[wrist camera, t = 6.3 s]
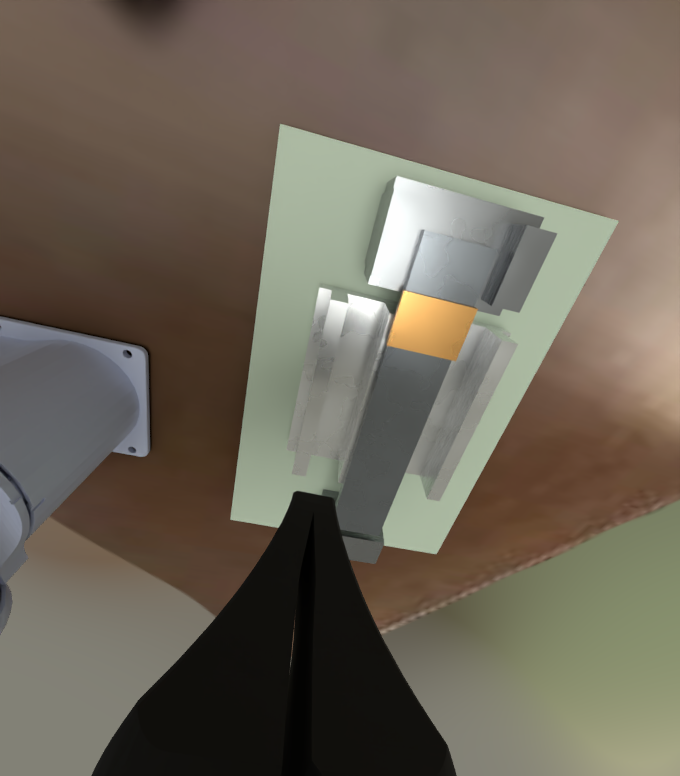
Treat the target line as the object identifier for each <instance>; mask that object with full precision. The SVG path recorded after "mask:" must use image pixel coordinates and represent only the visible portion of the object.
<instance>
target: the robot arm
mask: <svg viewBox="0 0 680 776" xmlns="http://www.w3.org/2000/svg"><path fill="white" fill-rule="evenodd" d="M0 326H1V328H0V635H1V633H2V631H3V629H4V628H5V625H6V623H7V621H8V618H9V615H10V613H11V607H12V595H11V591H10V589H9V587H8V585H7V584H6V582H7V581H8V580H9V579H10V578H11V577H12V575H14V573H15V572H16V571H17V570H18V569H19V568H20V567H21V566H22V565H23V564H24V562H25V561H26V560H27V559H28V556H27V554H26V552H25V550H24V543H25V541H26V540H27V539H28V538H29V537H30V535H32V534H33V533H34V532H35V531H36V530H37V529H38V527H39V526H40V525H41V524H42V523H43V522H44V521H45V520H46V519H47V518H48V517H49V516H50V515H51V514H52V513H53V512H54V511H55V510H56V509H57V508H58V507H59V506H60V505H61V504H62V503H63V502H64V501H65V500H66V499H67V497H68V496H69V495H70V494H71V493H72V492H73V491H74V490H75V489H76V488H77V487H78V486H79V485H80V484H81V483H82V482H83V481H84V480H85V479H86V478H87V477H88V476H89V475H90V474H91V473H92V472H93V471H94V470H95V469H96V467H97V466H98V465H99V464H100V463H101V462H102V461H103V460H104V459H105V458H106V457H107V456H108V455H109V454H110V453H111V452H117V453H123V454H128V455H134V456H139V457H144V456H146V455H147V454H148V453H149V452H150V414H149V366H148V352H147V351H146V350H145V349H144V348H143V347H141V346H137V345H133V344H128V343H123V342H118V341H114V340H109V339H104V338H100V337H95V336H90V335H86V334H81V333H76V332H71V331H67V330H62V329H57V328H53V327H48V326H43V325H39V324H34V323H29V322H25V321H20V320H15V319H10V318H6V317H1V316H0ZM126 350H129V351H130V352H131V353H132V356H131V355H129V354H128V353H127V351H126ZM132 447H134V448H135V449H133V448H132ZM295 611H296V613H295ZM294 620H295V628H294ZM293 630H294V642H293V651H292V660H291V650H292V640H293ZM290 661H291V667H290ZM289 672H290V674H289ZM92 776H456V772H455V768H454V765H453V762H452V758H451V755H450V752H449V748H448V745H447V744H446V742H445V741H444V739H443V738H442V736H441V735H440V733H439V732H438V731H437V729H436V727H435V726H434V724H433V723H432V721H431V720H430V718H429V717H428V715H427V713H426V712H425V710H424V709H423V707H422V706H421V704H420V703H419V701H418V700H417V698H416V696H415V695H414V693H413V691H412V689H411V688H410V686H409V685H408V683H407V681H406V680H405V678H404V676H403V675H402V673H401V671H400V669H399V667H398V665H397V664H396V662H395V660H394V658H393V656H392V654H391V653H390V651H389V649H388V647H387V645H386V644H385V642H384V640H383V638H382V636H381V634H380V632H379V630H378V628H377V626H376V624H375V622H374V620H373V617H372V615H371V613H370V611H369V609H368V606H367V604H366V602H365V600H364V597H363V595H362V592H361V590H360V587H359V585H358V582H357V580H356V577H355V574H354V572H353V569H352V566H351V563H350V560H349V557H348V554H347V551H346V548H345V544H344V541H343V537H342V534H341V530H340V526H339V522H338V518H337V513H336V507H335V500H334V499H333V498H332V497H328V496H322V495H317V494H312V493H307V492H302V491H295V492H293V496H292V499H291V502H290V505H289V508H288V510H287V512H286V514H285V516H284V518H283V521H282V523H281V524H280V526H279V528H278V530H277V532H276V533H275V535H274V537H273V539H272V541H271V542H270V544H269V546H268V547H267V549H266V550H265V552H264V553H263V555H262V556H261V558H260V560H259V561H258V563H257V564H256V566H255V567H254V569H253V570H252V571H251V573H250V574H249V576H248V577H247V579H246V580H245V581H244V583H243V584H242V585H241V587H240V588H239V589H238V591H237V592H236V593H235V595H234V596H233V597H232V598H231V600H230V601H229V602H228V603H227V605H226V606H225V607H224V608H223V610H222V611H221V612H220V613H219V615H218V616H217V617H216V618H215V619H214V621H213V622H212V623H211V624H210V625H209V626H208V628H207V629H206V630H205V631H204V632H203V633H202V634H201V635H200V636H199V638H198V639H197V640H196V641H195V642H194V643H193V644H192V645H191V646H190V648H189V649H188V650H187V651H186V652H185V653H184V654H183V655H182V656H181V657H180V658H179V660H178V661H177V662H176V663H175V664H174V665H173V666H172V667H171V668H170V669H169V670H168V671H167V672H166V673H165V674H164V675H163V676H162V677H161V678H160V679H159V680H158V681H157V682H156V683H155V684H154V685H153V686H152V687H151V688H150V689H149V690H148V691H147V692H146V693H145V694H144V695H143V696H142V697H141V698H140V699H139V700H138V702H137V703H136V705H135V706H134V707H133V709H132V710H131V712H130V713H129V714H128V716H127V717H126V718H125V720H124V721H123V723H122V724H121V726H120V727H119V729H118V730H117V732H116V733H115V734H114V736H113V737H112V739H111V741H110V742H109V744H108V746H107V747H106V749H105V751H104V752H103V754H102V756H101V758H100V760H99V762H98V763H97V765H96V767H95V769H94V771H93V774H92Z"/></svg>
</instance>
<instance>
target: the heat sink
mask: <svg viewBox="0 0 680 776" xmlns="http://www.w3.org/2000/svg"><path fill="white" fill-rule="evenodd" d="M398 303H399V302H395V301H391V300H387V299H383V298H379V297H375V296H371V295H367V294H362V293H358V292H354V291H350V290H346V289H342V288H338V287H334V286H330V285H325V284H320V288H319V292H318V297H317V302H316V307H315V312H314V317H313V322H312V327H311V332H310V337H309V341H308V346H307V351H306V356H305V361H304V366H303V371H302V376H301V381H300V385H299V390H298V395H297V400H296V405H295V410H294V415H293V420H292V425H291V430H290V434H289V439H288V444H287V449H286V450H289V451H294V452H296V454H295V460H294V465H293V470H292V474H294V475H300V476H305V477H306V473H307V469H308V465H309V461H310V457H311V455H315V456H320V457H325V458H330V459H336V460H338V483H342V481H343V478H344V475H345V472H346V469H347V466H348V462H349V459H350V456H351V453H352V450H353V446H354V443H355V440H356V437H357V434H358V430H359V427H360V424H361V421H362V418H363V414H364V411H365V408H366V405H367V402H368V399H369V395H370V392H371V389H372V386H373V383H374V379H375V376H376V373H377V370H378V367H379V363H380V360H381V357H382V354H383V351H384V348H385V344H386V341H387V338H388V335H389V332H390V328H391V325H392V322H393V319H394V316H395V312H396V309H397V306H398ZM510 335H511V333H510V332H508V331H507V330H505V329H504V328H502V327H498V326H494V325H490V324H486V323H482V322H478V321H473V322H472V324H471V327H470V329H469V332H468V334H467V336H466V339H465V341H464V343H463V346H462V348H461V350H460V353H459V355H458V358H457V360H456V361H452V362H451V364H450V366H449V369H448V371H447V374H446V376H445V378H444V381H443V383H442V386H441V388H440V390H439V393H438V395H437V398H436V400H435V402H434V405H433V407H432V410H431V412H430V414H429V417H428V419H427V422H426V424H425V426H424V429H423V431H422V434H421V436H420V438H419V441H418V443H417V446H416V448H415V450H414V453H413V455H412V458H411V460H410V462H409V465H408V467H407V470H406V472H405V473H409V474H414V475H419V476H420V478H421V481H422V485H423V488H424V492H425V495H426V498H427V499H430V500H435V501H440V500H441V498H442V496H443V494H444V492H445V490H446V488H447V486H448V484H449V482H450V480H451V478H452V476H453V474H454V472H455V470H456V468H457V466H458V464H459V462H460V460H461V458H462V456H463V454H464V452H465V450H466V448H467V446H468V444H469V442H470V440H471V438H472V436H473V434H474V432H475V430H476V428H477V426H478V424H479V422H480V420H481V418H482V416H483V414H484V412H485V410H486V408H487V406H488V404H489V402H490V400H491V398H492V396H493V394H494V392H495V390H496V388H497V386H498V384H499V382H500V380H501V378H502V376H503V374H504V372H505V370H506V368H507V366H508V364H509V362H510V360H511V358H512V356H513V354H514V352H515V350H516V348H517V346H518V344H517V343H516V342H515V341H513V340H512V339H510V338H509V337H510Z"/></svg>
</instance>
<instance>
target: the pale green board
mask: <svg viewBox="0 0 680 776" xmlns="http://www.w3.org/2000/svg"><path fill="white" fill-rule="evenodd" d="M396 176H399V177H403V178H406V179H410V180H413V181H417V182H420V183H424V184H428V185H431V186H435V187H438V188H442V189H445V190H449V191H452V192H456V193H460V194H463V195H467V196H470V197H474V198H477V199H481V200H484V201H488V202H491V203H495V204H499V205H502V206H506V207H509V208H513V209H516V210H520V211H523V212H527V213H530V214H534V215H538V216H541V217H545V218H544V220H543V222H542V224H541V226H540V229H543V230H547V231H551V232H554V233H558V234H557V236H556V238H555V240H554V242H553V244H552V246H551V248H550V250H549V252H548V255H547V257H546V259H545V261H544V263H543V265H542V267H541V269H540V271H539V273H538V275H537V277H536V280H535V282H534V284H533V286H532V288H531V290H530V292H529V294H528V296H527V298H526V300H525V302H524V304H523V307H522V309H521V311H520V313H518V312H514V311H510V310H506V309H503V310H502V312H501V314H500V316H496V315H492V314H488V313H484V312H480V311H477V313H476V315H475V317H474V320H473V321H478V322H482V323H486V324H490V325H494V326H498V327H502V328H504V329H505V330H507V331H508V332H510V333H511V335H510V337H509V338H510V339H512V340H513V341H515V342H516V343H517V344H518V346H517V348H516V350H515V352H514V354H513V356H512V358H511V360H510V362H509V364H508V366H507V368H506V370H505V372H504V374H503V376H502V378H501V380H500V382H499V384H498V386H497V388H496V390H495V392H494V394H493V396H492V398H491V400H490V402H489V404H488V406H487V408H486V410H485V412H484V414H483V416H482V418H481V420H480V422H479V424H478V426H477V428H476V430H475V432H474V434H473V436H472V438H471V440H470V442H469V444H468V446H467V448H466V450H465V452H464V454H463V456H462V458H461V460H460V462H459V464H458V466H457V468H456V470H455V472H454V474H453V476H452V478H451V480H450V482H449V484H448V486H447V488H446V490H445V492H444V494H443V496H442V498H441V500H440V501H435V500H430V499H427V498H426V495H425V492H424V488H423V485H422V481H421V478H420V476H419V475H414V474H409V473H405V474H404V477H403V479H402V482H401V484H400V486H399V489H398V491H397V494H396V496H395V498H394V501H393V503H392V506H391V508H390V510H389V513H388V515H387V518H386V520H385V522H384V525H383V527H382V529H383V537H384V545H385V546H391V547H397V548H403V549H409V550H415V551H421V552H427V553H432V554H437V552H438V550H439V549H440V547H441V545H442V543H443V541H444V539H445V538H446V536H447V534H448V532H449V530H450V529H451V527H452V525H453V523H454V521H455V519H456V518H457V516H458V514H459V512H460V510H461V508H462V507H463V505H464V503H465V501H466V499H467V497H468V496H469V494H470V492H471V490H472V488H473V487H474V485H475V483H476V481H477V479H478V477H479V476H480V474H481V472H482V470H483V468H484V466H485V465H486V463H487V461H488V459H489V457H490V455H491V454H492V452H493V450H494V448H495V446H496V444H497V443H498V441H499V439H500V437H501V435H502V434H503V432H504V430H505V428H506V426H507V424H508V423H509V421H510V419H511V417H512V415H513V413H514V412H515V410H516V408H517V406H518V404H519V402H520V401H521V399H522V397H523V395H524V393H525V392H526V390H527V388H528V386H529V384H530V382H531V381H532V379H533V377H534V375H535V373H536V371H537V370H538V368H539V366H540V364H541V362H542V360H543V359H544V357H545V355H546V353H547V351H548V349H549V348H550V346H551V344H552V342H553V340H554V339H555V337H556V335H557V333H558V331H559V329H560V328H561V326H562V324H563V322H564V320H565V318H566V317H567V315H568V313H569V311H570V309H571V307H572V306H573V304H574V302H575V300H576V298H577V297H578V295H579V293H580V291H581V289H582V287H583V286H584V284H585V282H586V280H587V278H588V276H589V275H590V273H591V271H592V269H593V267H594V265H595V264H596V262H597V260H598V258H599V256H600V255H601V253H602V251H603V249H604V247H605V245H606V244H607V242H608V240H609V238H610V236H611V234H612V233H613V231H614V229H615V227H616V225H617V223H618V222H619V221H617V220H613V219H610V218H606V217H603V216H599V215H596V214H593V213H589V212H586V211H582V210H579V209H575V208H572V207H568V206H565V205H561V204H558V203H554V202H551V201H547V200H544V199H540V198H537V197H533V196H530V195H526V194H523V193H520V192H516V191H513V190H509V189H506V188H502V187H499V186H495V185H492V184H488V183H485V182H481V181H478V180H474V179H471V178H467V177H464V176H460V175H457V174H453V173H450V172H447V171H443V170H440V169H436V168H433V167H429V166H426V165H422V164H419V163H415V162H412V161H408V160H405V159H401V158H398V157H394V156H391V155H387V154H384V153H380V152H377V151H373V150H370V149H367V148H363V147H360V146H356V145H353V144H349V143H346V142H342V141H339V140H335V139H332V138H328V137H325V136H321V135H318V134H314V133H311V132H307V131H304V130H300V129H297V128H294V127H290V126H287V125H283V124H280V130H279V138H278V146H277V153H276V161H275V169H274V177H273V185H272V193H271V201H270V209H269V217H268V225H267V233H266V241H265V249H264V257H263V264H262V272H261V280H260V288H259V296H258V304H257V312H256V320H255V328H254V336H253V344H252V352H251V360H250V368H249V375H248V383H247V391H246V399H245V407H244V415H243V423H242V431H241V439H240V447H239V455H238V463H237V471H236V479H235V487H234V494H233V502H232V510H231V518H230V520H236V521H242V522H248V523H254V524H260V525H266V526H272V527H278V528H279V526H280V524H281V523H282V521H283V518H284V516H285V514H286V512H287V510H288V508H289V505H290V502H291V499H292V496H293V492H295V491H302V492H307V493H312V494H317V495H322V491H323V489H326V490H331V491H337V492H339V491H340V488H341V485H342V483H338V460H336V459H330V458H325V457H320V456H315V455H311V457H310V461H309V465H308V469H307V473H306V477H305V476H300V475H294V474H292V470H293V465H294V460H295V454H296V452H294V451H289V450H286V449H287V444H288V439H289V434H290V430H291V425H292V420H293V415H294V410H295V405H296V400H297V395H298V390H299V385H300V381H301V376H302V371H303V366H304V361H305V356H306V351H307V346H308V341H309V337H310V332H311V327H312V322H313V317H314V312H315V307H316V302H317V297H318V292H319V288H320V284H325V285H330V286H334V287H338V288H342V289H346V290H350V291H354V292H358V293H362V294H367V295H371V296H375V297H379V298H383V299H387V300H391V301H395V302H399V300H400V296H401V293H402V292H399V291H395V290H391V289H387V288H383V287H379V286H375V285H371V284H368V283H367V280H366V277H365V274H364V271H365V267H366V264H365V259H366V255H367V251H368V247H369V243H370V239H371V235H372V231H373V227H374V223H375V219H376V215H377V211H378V208H379V204H380V200H381V196H382V194H383V193H385V189H386V185H387V182H388V181H390V180H391V179H393V178H394V177H396Z"/></svg>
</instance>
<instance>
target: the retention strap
mask: <svg viewBox="0 0 680 776" xmlns="http://www.w3.org/2000/svg"><path fill="white" fill-rule="evenodd" d="M497 251H498V250H497V249H494V248H490V247H486V246H482V245H479V244H475V243H471V242H467V241H464V240H460V239H456V238H452V237H449V236H445V235H441V234H437V233H434V232H430V231H426V230H421V233H420V236H419V239H418V242H417V246H416V249H415V252H414V255H413V258H412V261H411V265H410V268H409V271H408V274H407V277H406V281H405V284H404V287H403V290H402V293H401V296H400V300H399V303H398V306H397V309H396V312H395V316H394V319H393V322H392V325H391V328H390V332H389V335H388V338H387V341H386V344H385V348H384V351H383V354H382V357H381V360H380V363H379V367H378V370H377V373H376V376H375V379H374V383H373V386H372V389H371V392H370V395H369V399H368V402H367V405H366V408H365V411H364V414H363V418H362V421H361V424H360V427H359V430H358V434H357V437H356V440H355V443H354V446H353V450H352V453H351V456H350V459H349V462H348V466H347V469H346V472H345V475H344V478H343V481H342V485H341V488H340V491H339V494H338V497H337V501H336V504H335V507H336V513H337V518H338V522H339V526H340V530H345V531H351V532H357V533H363V534H369V535H375V536H379V534H380V532H381V530H382V527H383V525H384V522H385V520H386V518H387V515H388V513H389V510H390V508H391V506H392V503H393V501H394V498H395V496H396V494H397V491H398V489H399V486H400V484H401V482H402V479H403V477H404V474H405V472H406V470H407V467H408V465H409V462H410V460H411V458H412V455H413V453H414V450H415V448H416V446H417V443H418V441H419V438H420V436H421V434H422V431H423V429H424V426H425V424H426V422H427V419H428V417H429V414H430V412H431V410H432V407H433V405H434V402H435V400H436V398H437V395H438V393H439V390H440V388H441V386H442V383H443V381H444V378H445V376H446V374H447V371H448V369H449V366H450V364H451V362H452V361H456V360H457V358H458V355H459V353H460V350H461V348H462V346H463V343H464V341H465V339H466V336H467V334H468V332H469V329H470V327H471V324H472V322H473V320H474V317H475V315H476V313H477V310H478V309H477V308H476V307H474V306H475V304H476V302H477V299H478V297H479V294H480V292H481V290H482V287H483V285H484V282H485V280H486V277H487V275H488V273H489V270H490V268H491V265H492V263H493V261H494V258H495V256H496V253H497Z"/></svg>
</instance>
